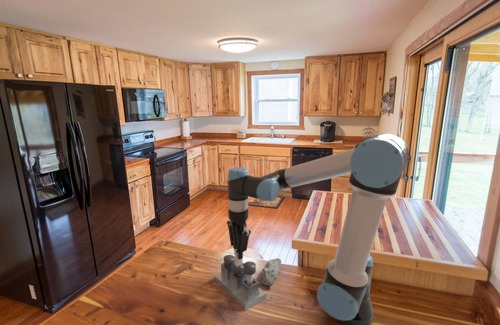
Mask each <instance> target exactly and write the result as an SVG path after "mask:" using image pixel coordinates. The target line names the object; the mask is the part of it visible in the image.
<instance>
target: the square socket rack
mask: <svg viewBox="0 0 500 325" xmlns="http://www.w3.org/2000/svg"><path fill="white" fill-rule="evenodd" d="M214 281H215V282H217V283H218V285H219V286H220V287H222V289H223V290H225V291H226V293H227V294H229V295H230V296H231V297H232V299H234V301H236V303H238V305H240V307H242V309H243V310H244V311H247V310H249V309H251V308H252V307H254V306H256V305H258V304H259V303H261V302H263V301H264V300H265V299H267V293H266V292H265V291H264V290H263V289H262V288H261V287H260V281H257V279H256V278H254V277H253V284H252V285H250V286H248V285H247V284H246V274H245V273H243V274H242V275H240V276H237V275H236V274H234V273H233V266H232V267H229V268H227V267H226V266H225V265H224V262H222V263H221V264H220V272H219V273H215V275H214Z"/></svg>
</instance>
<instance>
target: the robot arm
mask: <svg viewBox="0 0 500 325" xmlns="http://www.w3.org/2000/svg"><path fill="white" fill-rule="evenodd" d="M409 154H410V153H409V147H408V145H407V143H405V141H404V140H403V139H402V138H401V137H398V136H397V135H394V134H391V133H382V134H377V135H374V136H372V137H369V138H366V139H364V140H363V141H362V142H360V143H357V144H354V146H353V148H350V149H348V150H345V151H341V152H338V153H334V154H331V155H326V156H324V157H320V158H318V159H316V158H315V159H313V160H310V161H306V162H304V163H299V164H296V165H292V166H289V167H287V168H286V167H285V168H281V169H277V170H275V171H273V172H270V173H268V174H266V175H263V176H261V177H258V176H253V175H249V170H248V168H246V167H241V166H239V167H232V168H229V170H228V171H227V195H228V196H227V208H228V210H227V211H228V220H227V221H226V224H227V227H228V234H229V242H230V246H231V247H233V248H232V249H233V250H234V251H233V252H234V253H233V254H234V255H233V256H234V257H235V266H237V267H238V266H240V265H242V263H243V258H244V252H247V249H248V245H249V240H250V236H251V233H252V231H251V229H250V230H249V229H248V228H247V226H248V225H247V220H248V219H249V209H248V208H249V198H252V199H256V200H259V201H261V202H270V203H271V202H275V201H276V200H277V198H278V197H279V194H280V192H281V191H282V190H287V189H292V188H295V187H299V186H303V185H308V184H313V183H316V182H321V181H325V180H326V181H327V180H329V179H333V178H339V177H344V176H348V175H349V180H348V183H349V184H350V186H351V187H352V192H351V196H350V199H349V202H348V207H347V210H346V215H345V218H344V222H343V226H342V229H341V233H340V237H339V242H338V245H337V249H336V253H335V256H334V259H331V260H329V261H328V262H327V266H326V268H325V274H324V277H323V281H321V282H322V283H321V284H320V285H319V286H318V289H317V291H316V298H317V301H318V304H319V306H321V308H322V310H323V311H324V312H325V313H326V314H327V315H329V316H330V317H332V318H334V319H335V320H336V321H337V322H339V323H341V324H343V325H370V324H372V321H373V317H374V309H373V304H372V302H371V301H372V300H371V296H370V293H371V292H370V291H371V282H372V273H373V267H374V264H373V262H374V260H373V257H372V256H371V252H372V248H373V245H374V243H375V239H376V236H377V232H378V229H379V226H380V222H381V220H382V216H383V213H384V210H385V208H386V203H387V200H388V199H389V198H391V197H394V196H395V195H396V194H397V191H398V187H399V185H400V182H401V179H402V175H403V172H404V170H405V166H406V164H407V163H408V161H409V157H410V155H409Z"/></svg>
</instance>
